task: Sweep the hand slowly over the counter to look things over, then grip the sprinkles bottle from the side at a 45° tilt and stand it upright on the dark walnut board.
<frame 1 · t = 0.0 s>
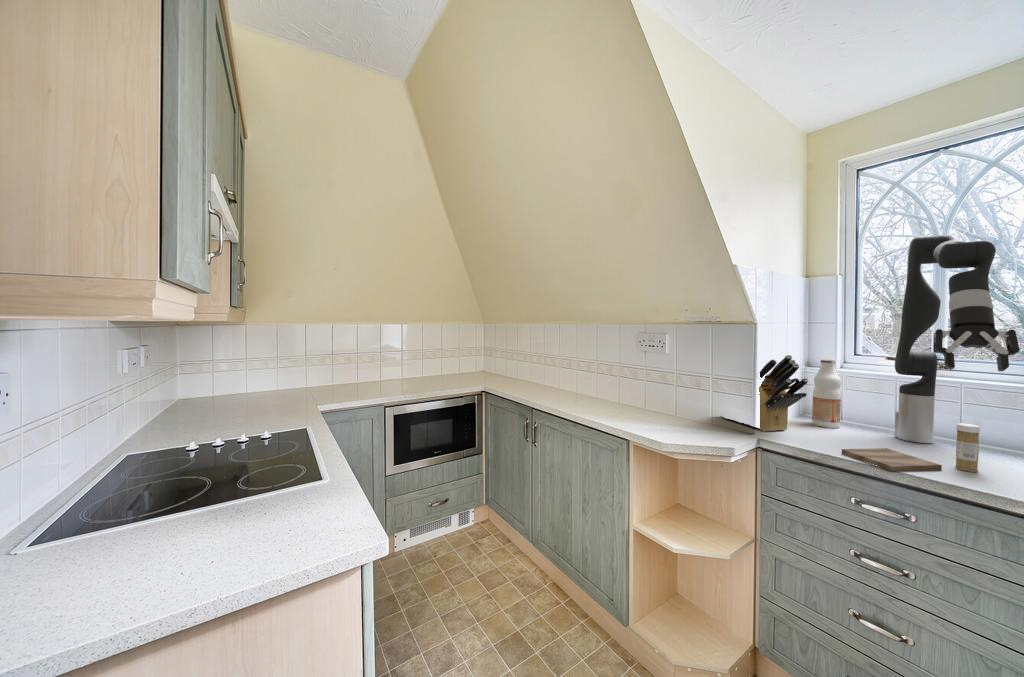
hand: (976, 369, 100), 31 cm above the table, tool tilted 20°, fingers open, 8 cm apart
fruit juice: (825, 426, 168), on the table
knife block: (758, 427, 166), on the table
walnut board: (888, 461, 124), on the table
sprinkles bottle: (966, 470, 117), on the table
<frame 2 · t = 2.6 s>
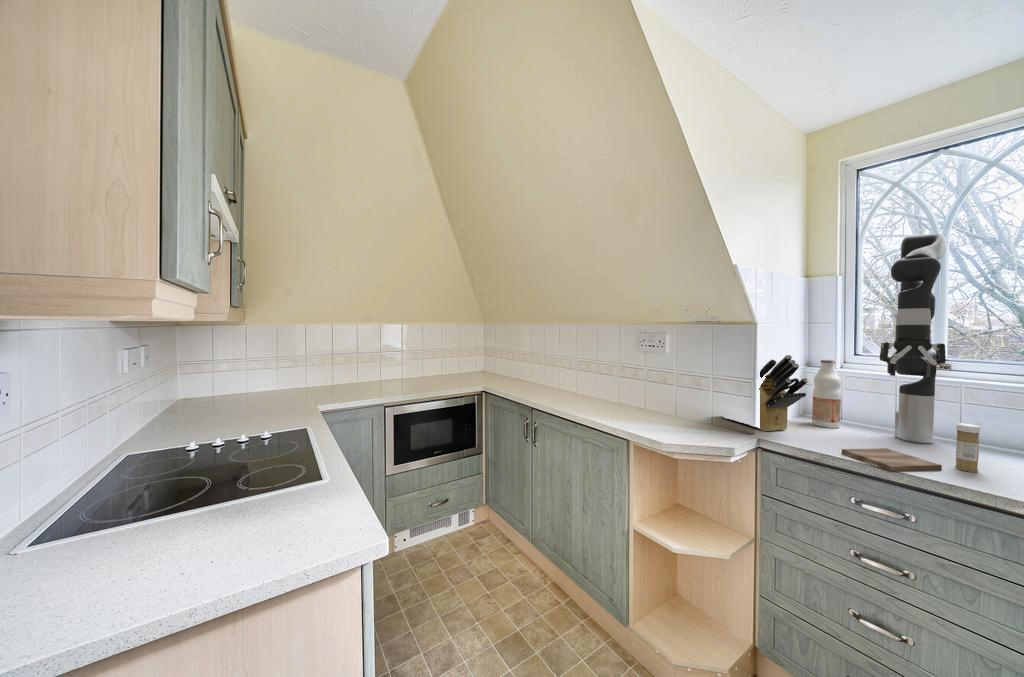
hand: (910, 376, 122), 27 cm above the table, tool pointing down, fingers open, 8 cm apart
nothing on the table moved.
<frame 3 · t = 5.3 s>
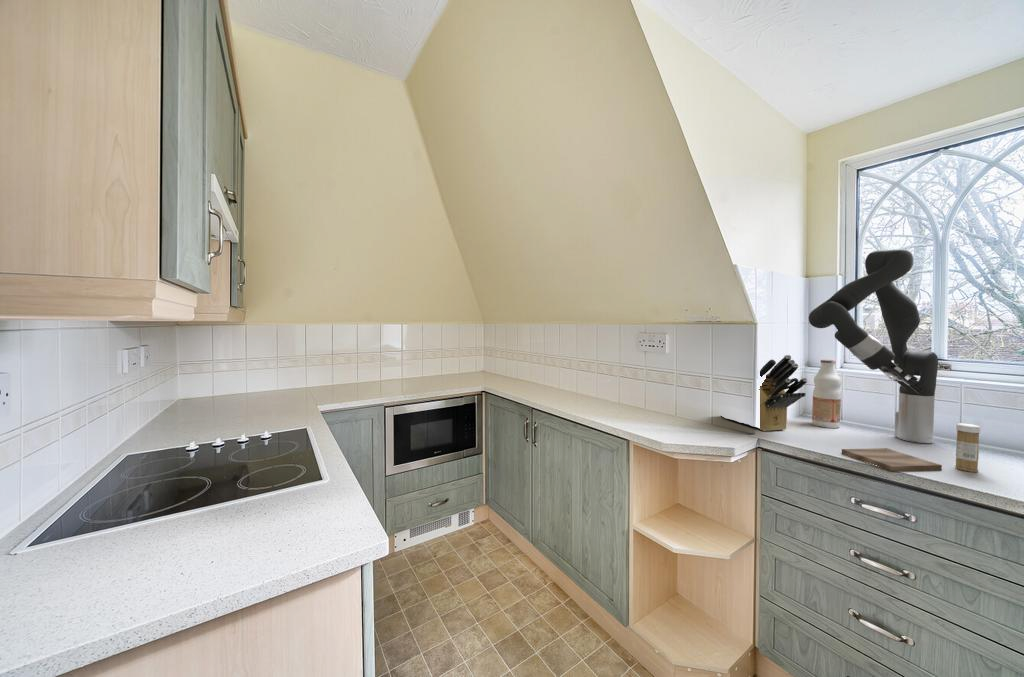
hand: (917, 390, 121), 23 cm above the table, tool tilted 45°, fingers open, 8 cm apart
nothing on the table moved.
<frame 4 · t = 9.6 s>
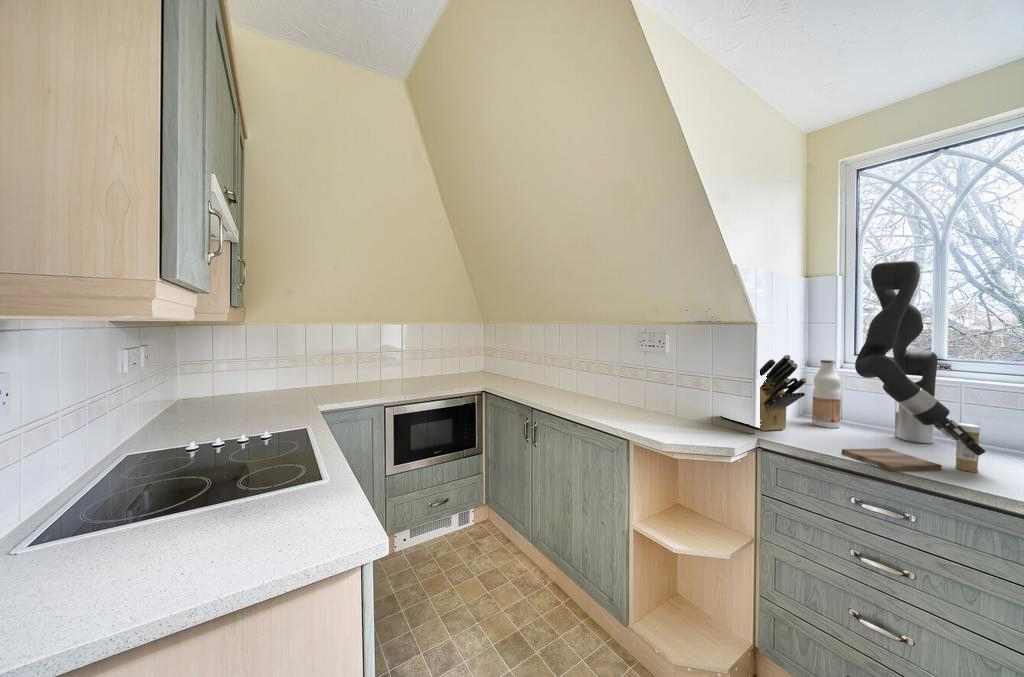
hand: (976, 450, 116), 6 cm above the table, tool tilted 45°, fingers closed on sprinkles bottle, 4 cm apart
sprinkles bottle: (966, 470, 117), on the table, touching gripper
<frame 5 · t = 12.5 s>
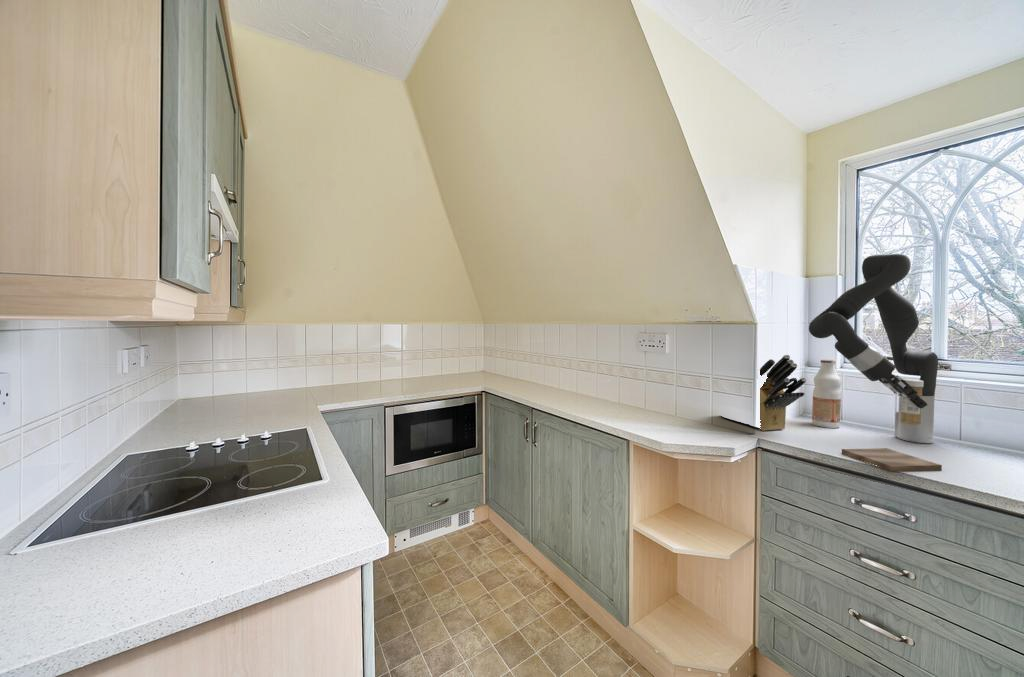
hand: (919, 405, 120), 18 cm above the table, tool tilted 45°, fingers closed on sprinkles bottle, 4 cm apart
sprinkles bottle: (910, 424, 121), point 12 cm above the table, touching gripper
when the fingers open (9 cm above the table, at t = 15.5 s): sprinkles bottle drops 1 cm, resting on walnut board.
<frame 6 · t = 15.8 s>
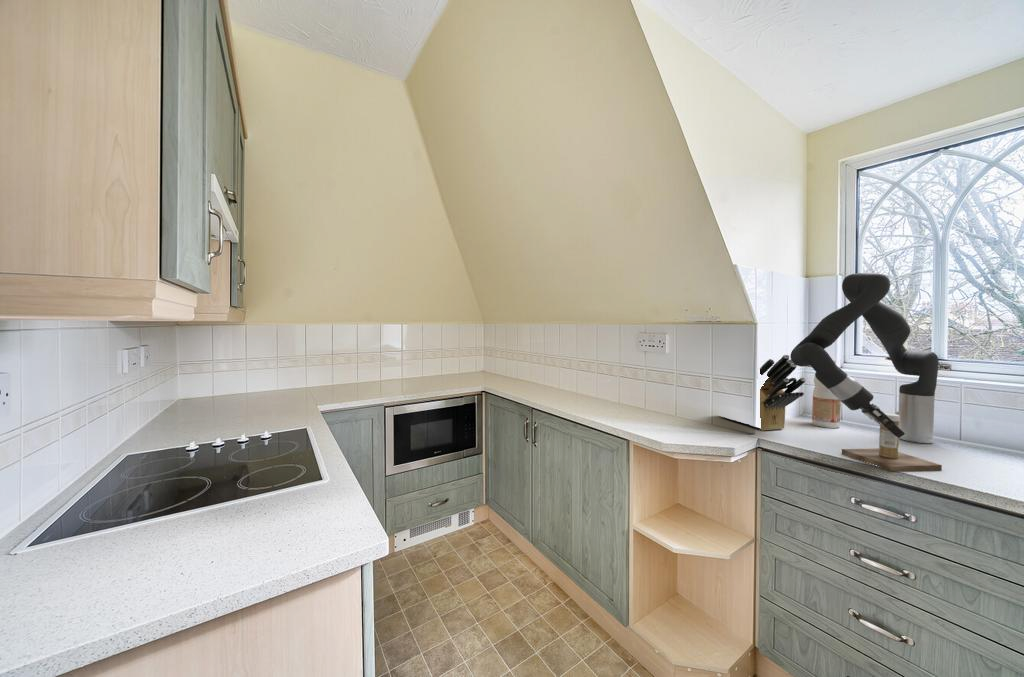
hand: (896, 432, 123), 9 cm above the table, tool tilted 45°, fingers open, 7 cm apart
sprinkles bottle: (888, 457, 124), point 1 cm above the table, touching walnut board
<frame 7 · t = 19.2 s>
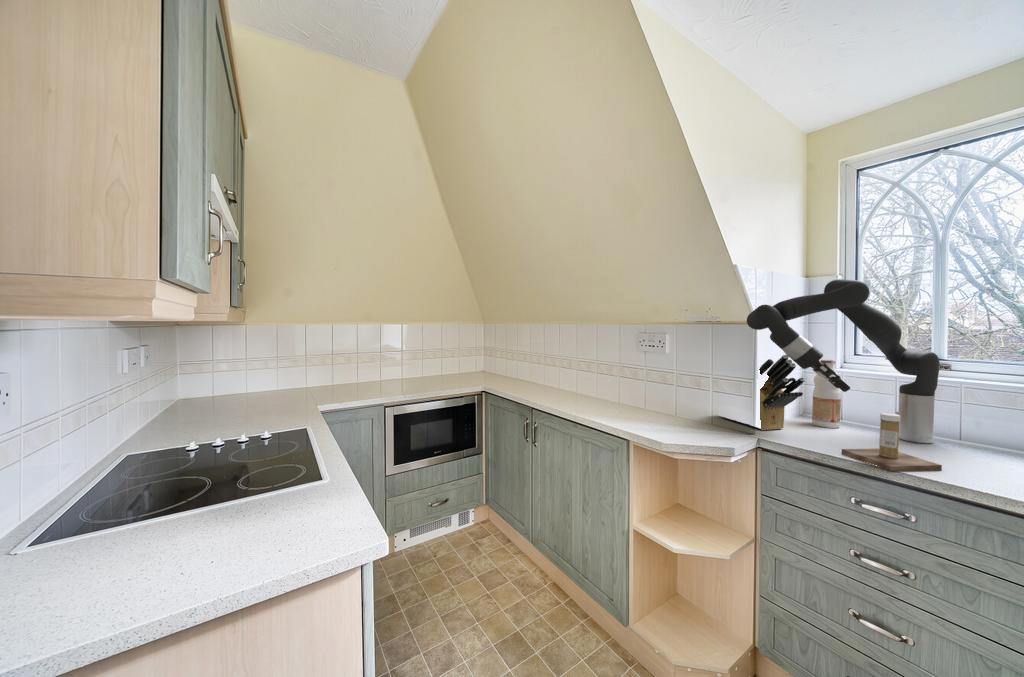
hand: (843, 388, 128), 22 cm above the table, tool tilted 45°, fingers open, 8 cm apart
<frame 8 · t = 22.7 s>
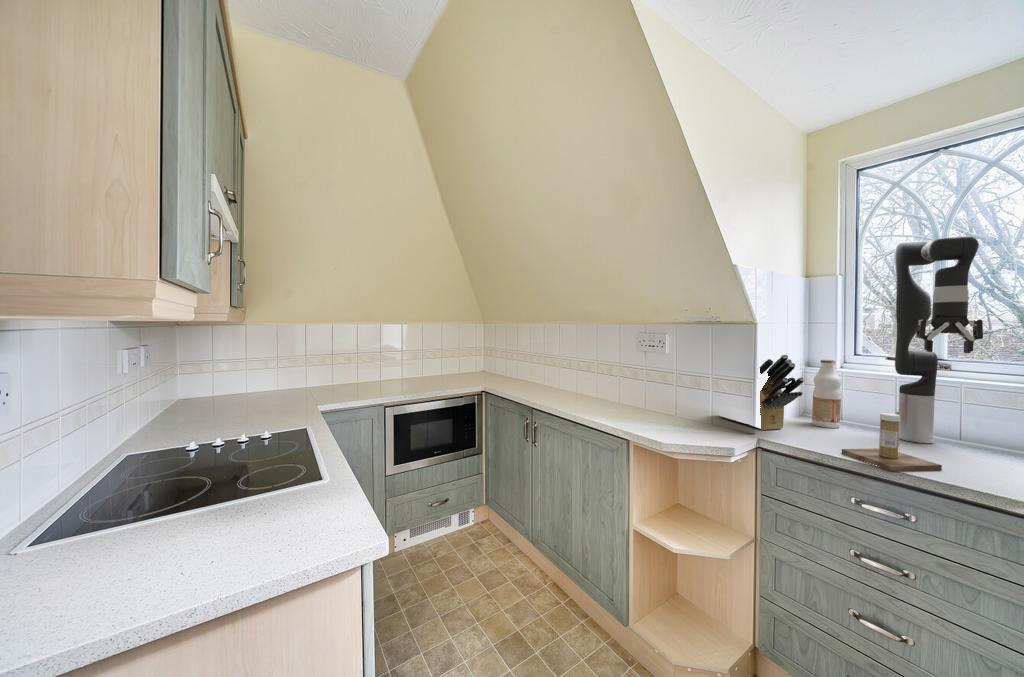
hand: (947, 352, 125), 34 cm above the table, tool pointing down, fingers open, 8 cm apart
at the end: sprinkles bottle inside the target area on the walnut board (0.1 cm from its centre), point 1.3 cm above the walnut board's base; sprinkles bottle tilted 0°; the gripper is holding nothing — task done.
